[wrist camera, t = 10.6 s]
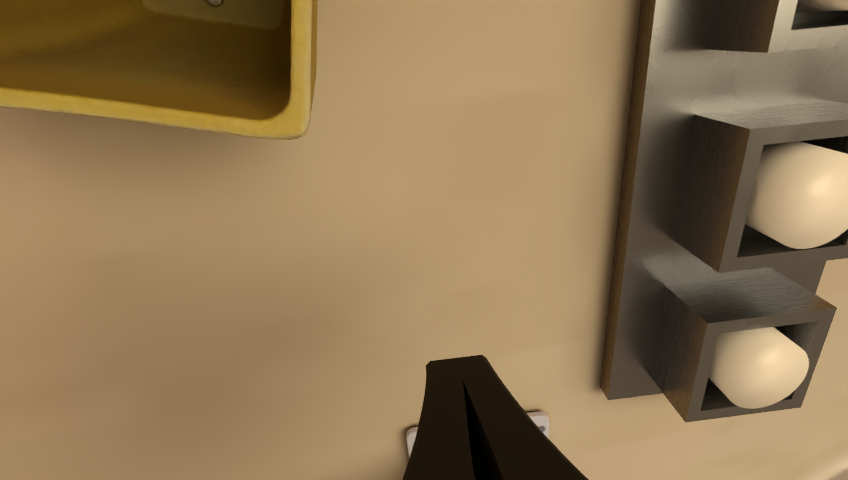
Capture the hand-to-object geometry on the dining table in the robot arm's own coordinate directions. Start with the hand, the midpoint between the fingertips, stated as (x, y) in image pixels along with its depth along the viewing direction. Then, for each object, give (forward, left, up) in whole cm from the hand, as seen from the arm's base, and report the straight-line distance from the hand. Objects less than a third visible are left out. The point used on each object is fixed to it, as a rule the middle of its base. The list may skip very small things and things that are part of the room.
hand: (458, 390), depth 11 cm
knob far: (-7, -14, -9) cm, 18 cm away
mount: (+1, -14, -10) cm, 17 cm away
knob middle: (+1, -14, -9) cm, 17 cm away
